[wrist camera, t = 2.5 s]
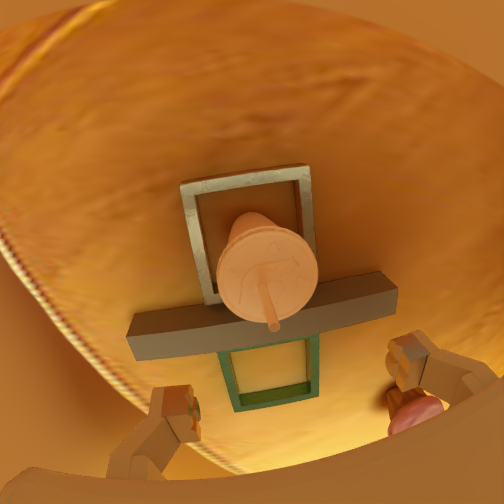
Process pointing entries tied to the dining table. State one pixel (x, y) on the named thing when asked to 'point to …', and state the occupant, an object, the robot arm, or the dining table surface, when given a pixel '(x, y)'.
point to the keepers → (210, 290)
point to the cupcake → (410, 408)
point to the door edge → (254, 333)
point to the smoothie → (265, 271)
